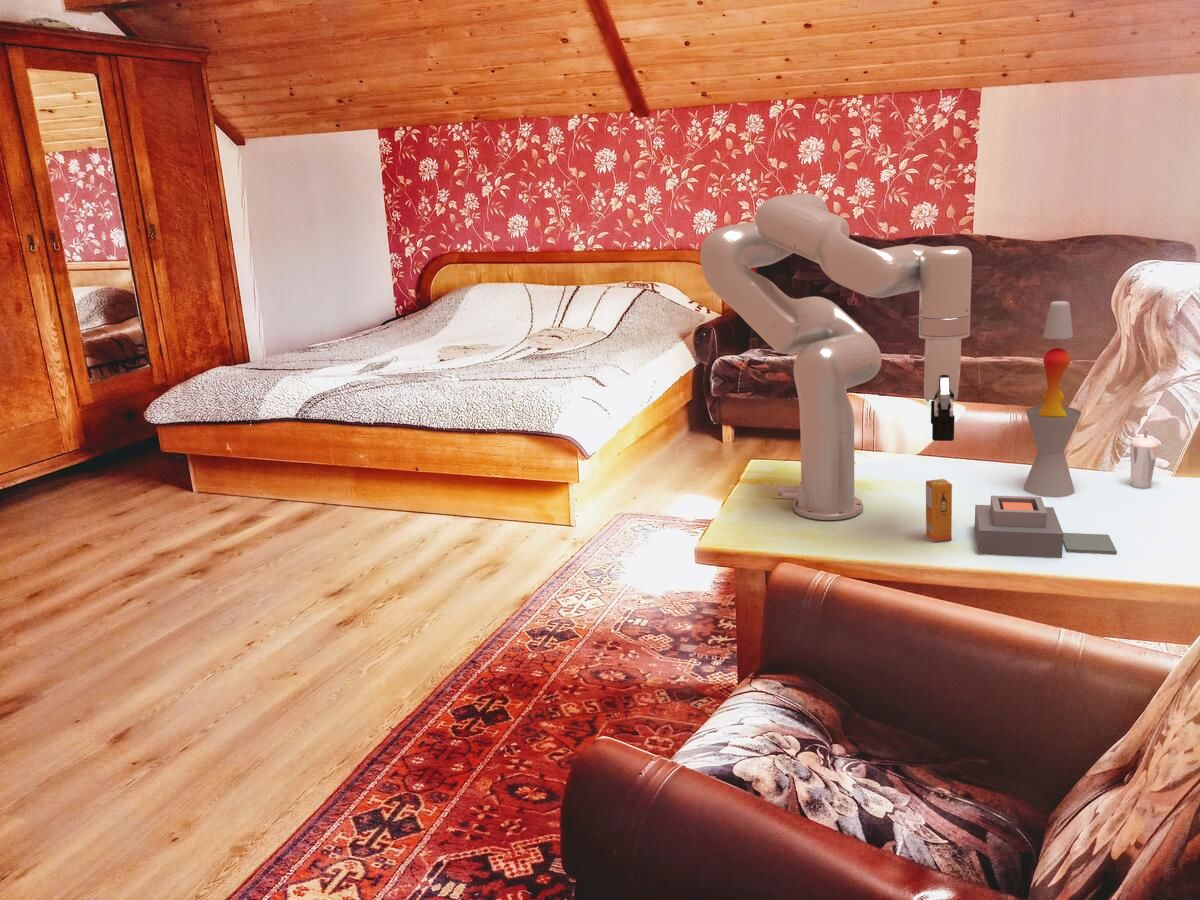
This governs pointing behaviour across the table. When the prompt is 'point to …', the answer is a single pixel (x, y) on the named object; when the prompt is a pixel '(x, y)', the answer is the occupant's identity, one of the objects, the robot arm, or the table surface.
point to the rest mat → (1088, 543)
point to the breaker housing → (1018, 529)
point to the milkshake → (1143, 460)
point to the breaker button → (1017, 506)
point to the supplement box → (939, 510)
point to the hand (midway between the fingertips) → (941, 432)
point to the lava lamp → (1053, 415)
